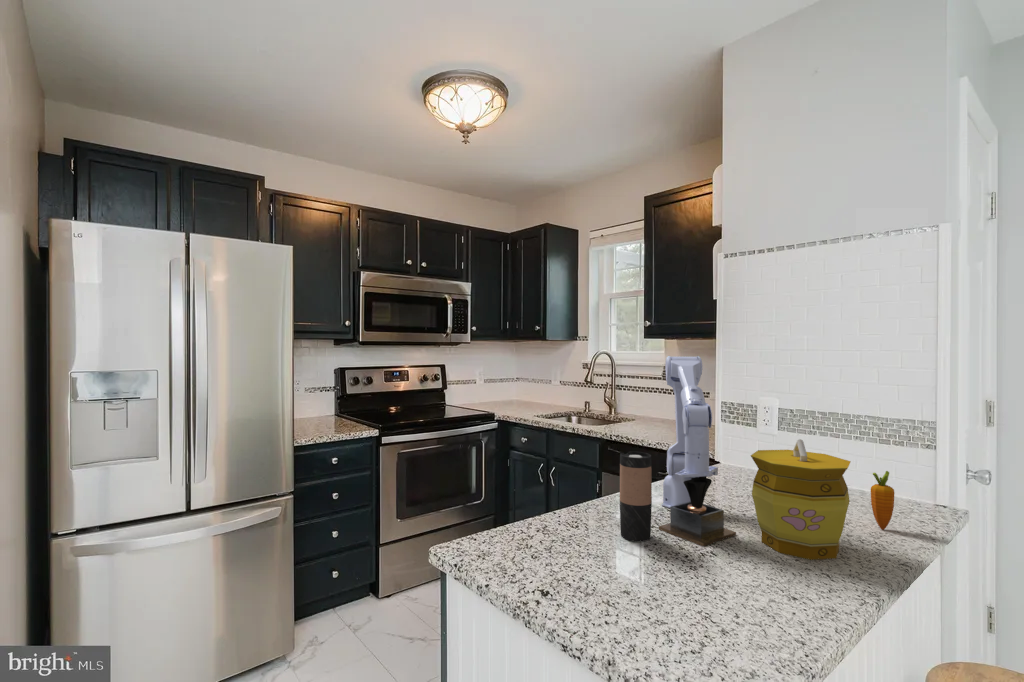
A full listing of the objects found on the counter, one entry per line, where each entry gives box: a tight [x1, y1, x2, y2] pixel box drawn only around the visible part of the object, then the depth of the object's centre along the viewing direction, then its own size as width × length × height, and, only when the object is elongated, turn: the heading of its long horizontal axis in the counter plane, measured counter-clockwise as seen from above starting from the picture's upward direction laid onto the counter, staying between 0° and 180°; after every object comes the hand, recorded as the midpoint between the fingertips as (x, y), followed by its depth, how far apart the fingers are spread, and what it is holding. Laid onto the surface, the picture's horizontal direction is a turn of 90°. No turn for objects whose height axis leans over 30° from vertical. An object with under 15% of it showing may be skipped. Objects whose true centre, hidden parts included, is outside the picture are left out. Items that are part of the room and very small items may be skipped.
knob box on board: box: [658, 501, 737, 547], centre depth 125 cm, size 13×13×6 cm
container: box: [750, 438, 851, 561], centre depth 117 cm, size 21×21×25 cm
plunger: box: [688, 504, 706, 515], centre depth 125 cm, size 7×7×5 cm
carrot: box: [870, 470, 895, 531], centre depth 128 cm, size 5×5×15 cm
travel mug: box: [619, 451, 653, 543], centre depth 123 cm, size 8×8×20 cm
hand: (696, 507), depth 125 cm, fingers closed, pressing on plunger
